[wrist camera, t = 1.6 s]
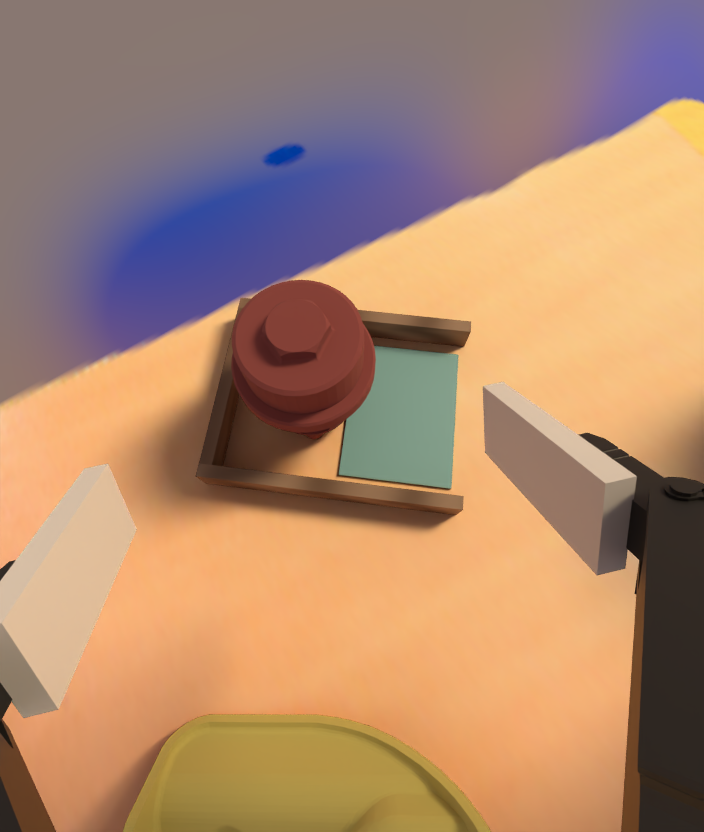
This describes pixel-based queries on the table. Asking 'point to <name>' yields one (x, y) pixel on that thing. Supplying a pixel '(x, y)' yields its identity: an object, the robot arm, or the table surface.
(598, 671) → the table surface
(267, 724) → the plastic component
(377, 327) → the bay
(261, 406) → the mechanical component
